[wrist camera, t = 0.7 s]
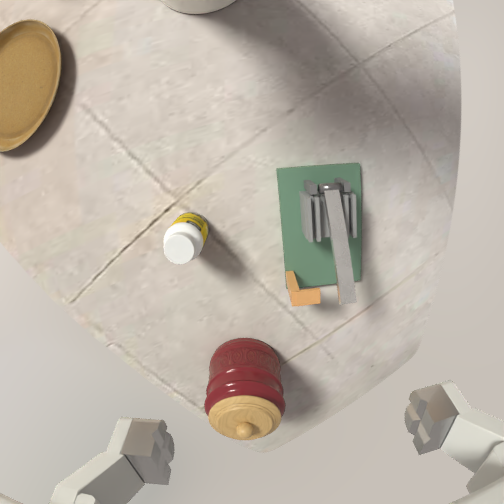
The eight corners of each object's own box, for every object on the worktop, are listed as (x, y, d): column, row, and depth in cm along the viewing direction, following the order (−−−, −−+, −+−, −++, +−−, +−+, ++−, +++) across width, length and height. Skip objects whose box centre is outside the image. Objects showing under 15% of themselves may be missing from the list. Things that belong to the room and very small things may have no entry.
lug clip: (285, 271, 50) (291, 293, 43) (310, 268, 50) (320, 289, 43) (286, 284, 51) (292, 306, 44) (311, 281, 50) (320, 303, 44)
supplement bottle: (212, 214, 48) (203, 234, 38) (205, 247, 49) (196, 274, 40) (177, 207, 47) (160, 225, 38) (172, 240, 49) (155, 265, 40)
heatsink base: (276, 168, 45) (281, 173, 39) (357, 163, 45) (373, 167, 39) (286, 286, 52) (291, 306, 46) (358, 277, 52) (371, 295, 46)
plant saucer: (85, 105, 41) (75, 104, 38) (-6, 172, 44) (-17, 175, 40) (55, -1, 33) (46, -6, 30) (-30, 73, 35) (-40, 72, 32)
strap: (317, 186, 41) (319, 182, 40) (339, 184, 41) (341, 180, 40) (335, 305, 38) (337, 304, 37) (357, 301, 38) (360, 301, 37)
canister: (227, 325, 55) (221, 399, 38) (292, 350, 57) (305, 423, 40) (200, 373, 59) (189, 445, 42) (259, 393, 61) (263, 464, 44)
